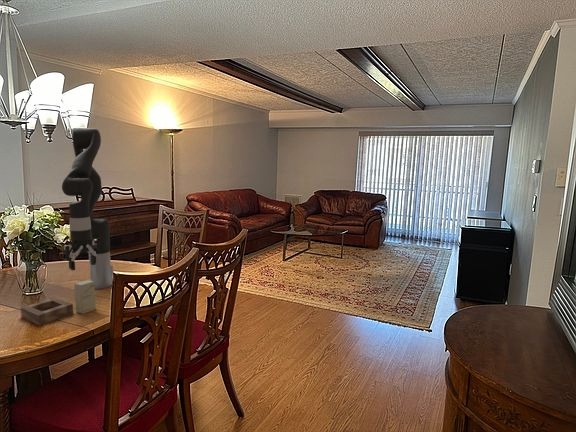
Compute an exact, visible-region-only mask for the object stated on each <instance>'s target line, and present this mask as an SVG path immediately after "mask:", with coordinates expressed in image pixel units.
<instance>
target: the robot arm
mask: <svg viewBox="0 0 576 432" xmlns="http://www.w3.org/2000/svg"><path fill="white" fill-rule="evenodd" d="M71 140H72V147H73V151H74V156H75V158H74V160H73V162H72V164H71V165H72V166H71V169H70V171H69V172H68V174H66V177H64V179H63V182H62V183H61V189H62V192H63V194H64V195H65V196H69V197H80V200H77V201H73V202H70V203H69V205H68V211H69V212H68V213H69V214H68V215H69V237H70V241H71V242H70V244H67V245H66V244H63V245H62V260H63V261H67V262H68V269H69V270H71V271H75V270H76V261H75V259H76V258H77V257H78V256H79V255H81V254H83V253H84V254H85V253H88V265H89V280H91V281H94V286H95V290H103V289H107V288H110V287H112V286H113V285H112V275H113V276H114V267H113V265H112V264H111V249H110V248H111V223H110V221H109V220H108V219H107V218H94V216H93V213H94V212H93V211H94V208H95V205H96V204H97V203H98V201H99V199H100V197H101V195H102V192H103V187H102V180H101V176H100V175H99V172H98V171H97V170H96V169H95V168H94V166H93V164H94V161H95V159H96V157H97V155H98V152H99V149H100V147H101V144H102V138H101V132H100V131H99V130H98V129H97V128H95V127H93V128H92V127H75V128H73V129H72V130H71ZM92 239H93V240H92Z"/></svg>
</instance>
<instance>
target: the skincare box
mask: <svg viewBox="0 0 576 432" xmlns="http://www.w3.org/2000/svg"><path fill="white" fill-rule="evenodd" d="M95 290H96V289H95V286H94V281H91V280H90V279H87V280H82V281H79V282H75V283H74V298H75V299H74V300H75V312H76V313H79V314H82V315H84V314H86V313H88V312H89V313H90V312H92V311H95V310H97V304H96V291H95Z"/></svg>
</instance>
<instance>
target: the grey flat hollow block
mask: <svg viewBox="0 0 576 432" xmlns="http://www.w3.org/2000/svg"><path fill="white" fill-rule="evenodd" d="M73 314H74V304H73V303H71V302H69V301H65V300H62V299H60V298H58V297H52V298H49V299H48V298H47V299H45V300H42V301H38V302H34V303H32V304H29V305H25V306H22V307H20V315H21V318H22V319H24V320H26V321H29V322H31V323H33V324H35V325H37V326H41V325H42V326H43V325H44V324H47V323H50V322H53V321H56V320H59V319H61V318H64V317H67V316H70V315H73Z"/></svg>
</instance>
